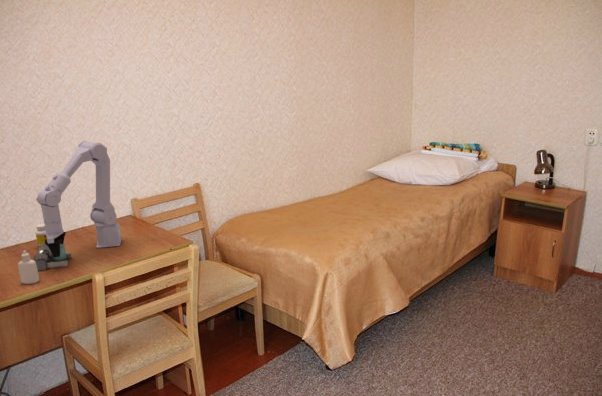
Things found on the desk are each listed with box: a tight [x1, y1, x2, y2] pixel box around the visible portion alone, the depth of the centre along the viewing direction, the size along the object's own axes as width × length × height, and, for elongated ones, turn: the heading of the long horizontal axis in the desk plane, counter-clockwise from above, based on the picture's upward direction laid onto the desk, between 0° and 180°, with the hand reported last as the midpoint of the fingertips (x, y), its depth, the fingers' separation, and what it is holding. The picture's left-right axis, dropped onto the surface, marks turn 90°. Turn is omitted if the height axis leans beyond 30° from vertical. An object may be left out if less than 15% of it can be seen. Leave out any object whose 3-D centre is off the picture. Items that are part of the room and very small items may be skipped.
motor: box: [32, 244, 73, 272], centre depth 180 cm, size 11×12×6 cm
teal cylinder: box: [52, 244, 67, 262], centre depth 180 cm, size 5×5×6 cm
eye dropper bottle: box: [17, 250, 40, 285], centre depth 164 cm, size 4×6×12 cm
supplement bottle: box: [35, 223, 47, 250], centre depth 195 cm, size 5×5×10 cm
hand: (58, 253), depth 180 cm, fingers closed on teal cylinder, 5 cm apart
